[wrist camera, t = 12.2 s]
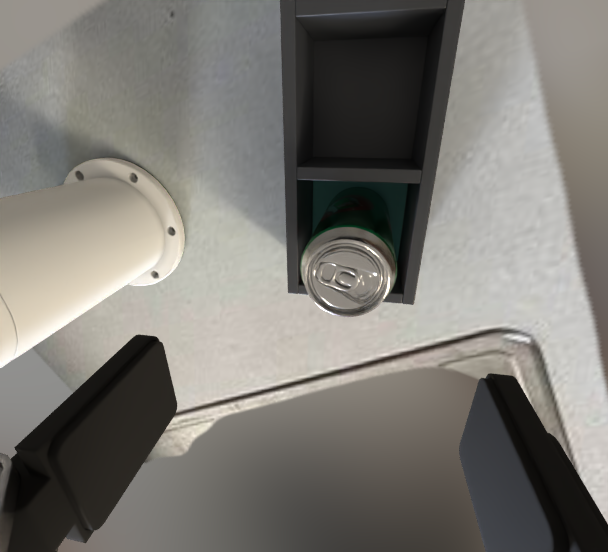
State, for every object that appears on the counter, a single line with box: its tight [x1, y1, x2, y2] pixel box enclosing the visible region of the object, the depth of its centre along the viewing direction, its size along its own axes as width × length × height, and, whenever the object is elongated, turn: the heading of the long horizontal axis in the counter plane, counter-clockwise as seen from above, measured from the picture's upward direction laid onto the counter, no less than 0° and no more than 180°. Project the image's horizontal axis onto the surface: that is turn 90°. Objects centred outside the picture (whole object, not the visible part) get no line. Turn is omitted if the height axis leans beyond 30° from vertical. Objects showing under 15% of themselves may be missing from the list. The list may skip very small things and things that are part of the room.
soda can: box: [300, 187, 397, 317], centre depth 21 cm, size 5×5×12 cm
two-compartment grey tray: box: [280, 0, 465, 305], centre depth 23 cm, size 9×17×7 cm, turn 0°
